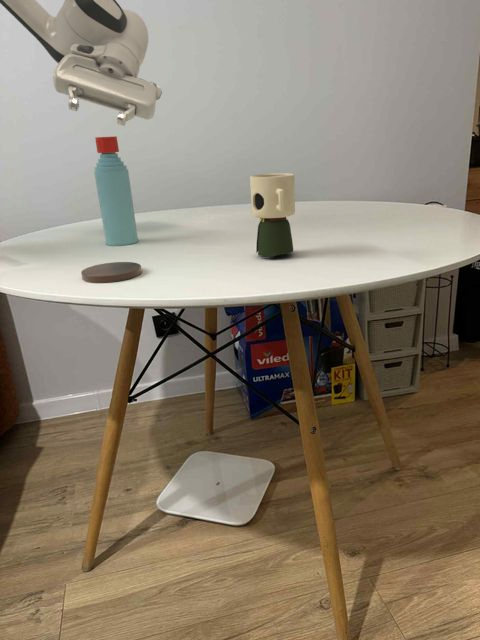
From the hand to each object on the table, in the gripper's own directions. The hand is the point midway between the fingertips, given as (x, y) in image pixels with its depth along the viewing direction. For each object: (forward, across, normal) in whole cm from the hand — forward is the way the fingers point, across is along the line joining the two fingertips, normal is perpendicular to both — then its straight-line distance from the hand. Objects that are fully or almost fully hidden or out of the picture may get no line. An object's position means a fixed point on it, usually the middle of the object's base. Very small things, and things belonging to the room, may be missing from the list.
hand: (96, 115), depth 99 cm
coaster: (+39, -13, +6) cm, 42 cm away
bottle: (+20, -10, -12) cm, 25 cm away
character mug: (+29, -38, +8) cm, 49 cm away
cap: (+7, -4, +2) cm, 9 cm away
